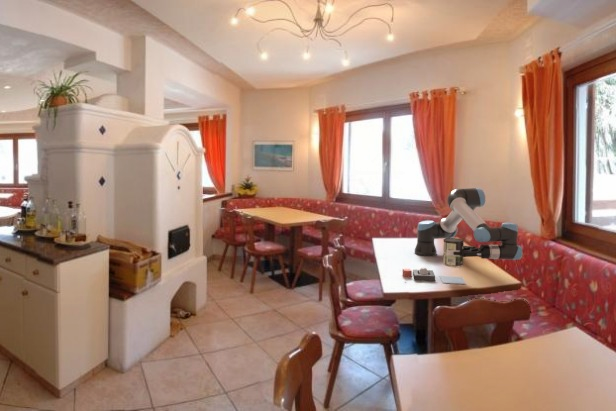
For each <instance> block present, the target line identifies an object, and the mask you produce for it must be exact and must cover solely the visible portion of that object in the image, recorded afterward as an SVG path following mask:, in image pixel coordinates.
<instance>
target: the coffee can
mask: <svg viewBox="0 0 616 411" xmlns="http://www.w3.org/2000/svg"><path fill="white" fill-rule="evenodd" d="M464 243H465V241H464V239H461V238H457V237H453V238H443V246H444V251H443V258H442V259H443V260H442V261H443V263H442V264H443V265H444V267H445V266H446V267H447V268H448V267H450V268H462V267H463V266H464V257H462V256H454V255H446V253H447V250H462V251H463V246H465V245H464Z"/></svg>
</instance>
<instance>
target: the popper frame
mask: <svg viewBox="0 0 616 411" xmlns="http://www.w3.org/2000/svg"><path fill="white" fill-rule="evenodd" d="M427 270H428V272H429V275H426V274H419V271H420V269H412V277H413V281H416V282H417V281H419V282H420V281H421V282H436V274H435V272H434V270H430V269H427Z"/></svg>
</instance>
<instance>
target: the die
mask: <svg viewBox="0 0 616 411" xmlns="http://www.w3.org/2000/svg"><path fill="white" fill-rule="evenodd" d="M402 276H403V278H405V279H406V278H412V277H413V269H411V268H402Z"/></svg>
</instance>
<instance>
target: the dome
mask: <svg viewBox="0 0 616 411" xmlns="http://www.w3.org/2000/svg"><path fill="white" fill-rule="evenodd" d="M419 270H420V271H419V274H426V275H429V272H428V270H429V269H427V267H421V268H420V269H419Z"/></svg>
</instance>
